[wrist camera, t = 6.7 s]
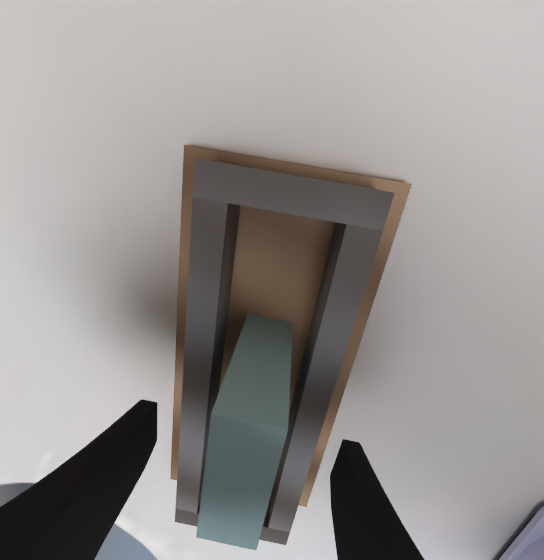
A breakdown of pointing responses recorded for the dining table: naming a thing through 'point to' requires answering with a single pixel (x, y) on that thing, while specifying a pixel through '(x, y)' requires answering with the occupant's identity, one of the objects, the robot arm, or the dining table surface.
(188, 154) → the floor track
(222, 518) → the door panel
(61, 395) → the dining table surface
